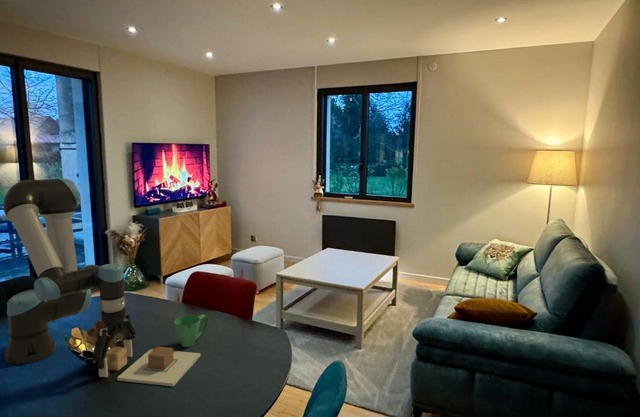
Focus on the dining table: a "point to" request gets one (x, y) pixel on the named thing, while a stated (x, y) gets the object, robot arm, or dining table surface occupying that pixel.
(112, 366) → the oak block
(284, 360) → the dining table surface
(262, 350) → the dining table surface
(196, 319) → the mug
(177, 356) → the cream square board
